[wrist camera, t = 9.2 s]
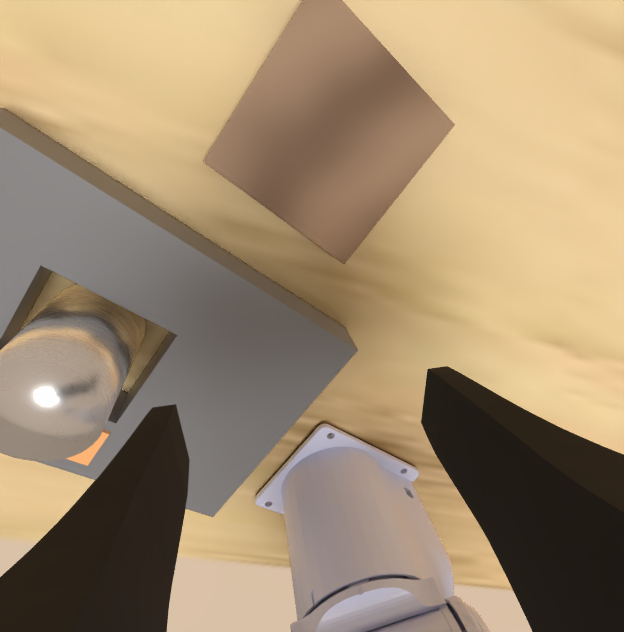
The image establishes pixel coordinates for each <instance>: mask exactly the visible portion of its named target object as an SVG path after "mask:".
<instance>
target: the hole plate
mask: <svg viewBox="0 0 624 632" xmlns="http://www.w3.org/2000/svg"><path fill="white" fill-rule="evenodd" d="M52 271H53V272H55V273H57V274H59V275H61V276H63V277H65V278H67V279H69V280H71V281H73V282H75V283H76V284H78V285H80V286H82V287H84V288H86V289H88V290H90V291H92V292H94V293H96V294H98V295H100V296H102V297H104V298H106V299H108V300H110V301H112V302H114V303H116V304H118V305H119V306H121V307H123V308H125V309H127V310H129V311H131V312H133V313H135V314H137V315H139V316H141V317H143V318H145V319H147V320H149V321H151V322H153V323H155V324H157V325H159V326H161V327H163V328H164V329H166V330H168V331H170V333H169V335H168V336H167V337H166V339H165V340H164V342H163V343H162V345H161V346H160V348H159V349H158V351H157V352H156V353H155V355H154V356H153V358H152V359H151V361H150V362H149V364H148V365H147V367H146V368H145V369H144V371H143V372H142V374H141V375H140V377H139V378H138V380H137V381H136V383H135V384H134V385H133V387H132V388H131V390H130V391H129V393H127V392H124V391H122V390H121V391H120V393H119V395H118V397H117V400H116V402H115V404H114V407H113V409H112V411H111V414H110V416H109V418H108V421H107V423H106V425H105V427H104V430H103V432H102V434H101V436H100V437H99V438H98V440H97V441H96V442H95V443H94V444H93V445H92V446H91V447H89V448H88V449H87V450H85V451H83V452H81V453H79V454H77V455H75V456H72V457H69V458H65V459H60V460H53V461H37V462H40V463H43V464H46V465H49V466H52V467H56V468H59V469H62V470H65V471H68V472H71V473H75V474H78V475H81V476H84V477H87V478H90V479H94V480H96V479H97V478H98V477H99V475H100V474H101V473H102V472H103V471H104V469H105V468H106V467H107V466H108V464H109V463H110V462H111V461H112V459H113V458H114V457H115V455H116V454H117V453H118V452H119V450H120V449H121V448H122V447H123V445H124V444H125V443H126V441H127V440H128V439H129V437H130V436H131V435H132V433H133V432H134V431H135V429H136V428H137V427H138V425H139V424H140V423H141V421H142V420H143V419H144V417H145V416H146V415H147V413H148V412H149V411H150V410H151V408H152V407H159V406H166V405H174V404H176V407H177V411H178V415H179V419H180V423H181V427H182V431H183V435H184V439H185V443H186V447H187V451H188V455H189V459H190V461H189V481H188V496H187V502H186V508H185V509H189V510H192V511H195V512H198V513H201V514H204V515H208V516H211V517H213V516H214V515H215V514H216V513H217V512H218V511H219V510H220V508H221V507H222V506H223V505H224V504H225V503H226V501H227V500H228V499H229V498H230V497H231V496H232V495H233V493H234V492H235V491H236V490H237V489H238V488H239V486H240V485H241V484H242V483H243V482H244V481H245V480H246V478H247V477H248V476H249V475H250V474H251V473H252V472H253V470H254V469H255V468H256V467H257V466H258V465H259V463H260V462H261V461H262V460H263V459H264V458H265V457H266V455H267V454H268V453H269V452H270V451H271V450H272V448H273V447H274V446H275V445H276V444H277V443H278V442H279V440H280V439H281V438H282V437H283V436H284V435H285V434H286V432H287V431H288V430H289V429H290V428H291V427H292V425H293V424H294V423H295V422H296V421H297V420H298V419H299V417H300V416H301V415H302V414H303V413H304V412H305V410H306V409H307V408H308V407H309V406H310V405H311V404H312V402H313V401H314V400H315V399H316V398H317V397H318V396H319V394H320V393H321V392H322V391H323V390H324V389H325V387H326V386H327V385H328V384H329V383H330V382H331V381H332V379H333V378H334V377H335V376H336V375H337V374H338V372H339V371H340V370H341V369H342V368H343V367H344V366H345V364H346V363H347V362H348V361H349V360H350V359H351V358H352V356H353V355H354V354H355V353H356V352H357V351H358V349H357V348H356V346H355V344H354V342H353V340H352V339H351V337H350V335H349V333H348V331H347V330H346V328H345V327H343V326H342V325H340V324H339V323H337V322H336V321H334V320H333V319H331V318H329V317H328V316H326V315H325V314H323V313H322V312H320V311H319V310H317V309H315V308H314V307H312V306H311V305H309V304H308V303H306V302H305V301H303V300H301V299H300V298H298V297H297V296H295V295H294V294H292V293H291V292H289V291H287V290H286V289H284V288H283V287H281V286H280V285H278V284H277V283H275V282H273V281H272V280H270V279H269V278H267V277H266V276H264V275H263V274H261V273H260V272H258V271H256V270H255V269H253V268H252V267H250V266H249V265H247V264H246V263H244V262H242V261H241V260H239V259H238V258H236V257H235V256H233V255H232V254H230V253H228V252H227V251H225V250H224V249H222V248H221V247H219V246H218V245H216V244H214V243H213V242H211V241H210V240H208V239H207V238H205V237H204V236H202V235H200V234H199V233H197V232H196V231H194V230H193V229H191V228H190V227H188V226H186V225H185V224H183V223H182V222H180V221H179V220H177V219H176V218H174V217H172V216H171V215H169V214H168V213H166V212H165V211H163V210H162V209H160V208H158V207H157V206H155V205H154V204H152V203H151V202H149V201H148V200H146V199H144V198H143V197H141V196H140V195H138V194H137V193H135V192H134V191H132V190H130V189H129V188H127V187H126V186H124V185H123V184H121V183H120V182H118V181H116V180H115V179H113V178H112V177H110V176H109V175H107V174H106V173H104V172H102V171H101V170H99V169H98V168H96V167H95V166H93V165H92V164H90V163H88V162H87V161H85V160H84V159H82V158H81V157H79V156H78V155H76V154H75V153H73V152H71V151H70V150H68V149H67V148H65V147H64V146H62V145H61V144H59V143H57V142H56V141H54V140H53V139H51V138H50V137H48V136H47V135H45V134H43V133H42V132H40V131H39V130H37V129H36V128H34V127H33V126H31V125H29V124H28V123H26V122H25V121H23V120H22V119H20V118H19V117H17V116H15V115H14V114H12V113H11V112H9V111H8V110H6V109H5V108H0V350H1V349H2V348H3V347H4V346H5V345H6V344H7V343H8V342H9V341H11V340H12V339H13V338H14V337H15V336H16V335H17V334H18V332H19V330H20V328H21V326H22V324H23V323H24V321H25V319H26V317H27V315H28V314H29V312H30V310H31V308H32V306H33V305H34V303H35V301H36V299H37V297H38V296H39V294H40V292H41V290H42V288H43V287H44V285H45V283H46V281H47V279H48V277H49V276H50V274H51V272H52Z"/></svg>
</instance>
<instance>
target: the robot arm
mask: <svg viewBox="0 0 624 632" xmlns="http://www.w3.org/2000/svg"><path fill="white" fill-rule="evenodd" d="M421 423H422V425H423V428H424V430H425V432H426V435H427V437H428V439H429V441H430V443H431V445H432V448H433V450H434V452H435V454H436V455H437V457H438V459H439V460H440V462H441V464H442V465H443V467H444V468H445V470H446V472H447V473H448V475H449V477H450V478H451V480H452V481H453V483H454V485H455V486H456V488H457V489H458V491H459V493H460V494H461V496H462V497H463V499H464V501H465V502H466V504H467V505H468V507H469V508H470V510H471V512H472V513H473V515H474V516H475V518H476V520H477V521H478V523H479V525H480V526H481V528H482V530H483V532H484V533H485V535H486V537H487V539H488V540H489V542H490V544H491V546H492V548H493V550H494V552H495V554H496V556H497V558H498V560H499V562H500V564H501V566H502V568H503V570H504V572H505V574H506V576H507V578H508V580H509V582H510V584H511V586H512V589H513V591H514V593H515V595H516V597H517V599H518V601H519V603H520V605H521V608H522V610H523V612H524V614H525V616H526V618H527V620H528V622H529V625H530V627H531V629H532V631H533V632H624V455H623V454H621V453H618V452H615V451H613V450H610V449H608V448H605V447H603V446H601V445H598V444H596V443H594V442H591V441H589V440H587V439H584V438H582V437H580V436H578V435H575V434H573V433H571V432H569V431H566V430H564V429H562V428H560V427H558V426H556V425H554V424H552V423H550V422H548V421H546V420H544V419H542V418H540V417H538V416H536V415H534V414H532V413H530V412H528V411H526V410H525V409H523V408H521V407H519V406H517V405H515V404H513V403H512V402H510V401H508V400H506V399H505V398H503V397H501V396H499V395H497V394H496V393H494V392H492V391H490V390H489V389H487V388H485V387H483V386H482V385H480V384H478V383H477V382H475V381H473V380H471V379H470V378H468V377H466V376H464V375H463V374H461V373H459V372H457V371H455V370H453V369H451V368H449V367H447V366H446V367H439V368H432V369H428V371H427V379H426V387H425V396H424V404H423V412H422V420H421ZM329 433H332V434H331V435H328V434H329ZM189 461H190V459H189V455H188V451H187V447H186V443H185V439H184V435H183V431H182V427H181V423H180V419H179V415H178V411H177V407H176V404H174V405H166V406H159V407H152V408H151V410H150V411H149V412H148V413H147V415H146V416H145V417H144V419H143V420H142V421H141V423H140V424H139V425H138V427H137V428H136V429H135V431H134V432H133V433H132V435H131V436H130V437H129V439H128V440H127V441H126V443H125V444H124V445H123V447H122V448H121V449H120V450H119V452H118V453H117V454H116V455H115V457H114V458H113V459H112V461H111V462H110V463H109V464H108V466H107V467H106V468H105V469H104V471H103V472H102V473H101V474H100V475H99V477H98V478H97V479H96V480H95V481H94V482H93V484H92V485H91V486H90V487H89V488H88V489H87V491H86V492H85V493H84V494H83V495H82V496H81V497H80V499H79V500H78V501H77V502H76V503H75V504H74V505H73V507H72V508H71V509H70V510H69V511H68V512H67V513H66V514H65V515H64V516H63V517H62V518H61V520H60V521H59V522H58V523H57V524H56V525H55V526H54V527H53V528H52V529H51V530H50V531H49V532H48V533H47V534H46V535H45V536H44V537H43V538H42V539H41V540H40V541H39V542H38V543H37V544H36V545H35V546H34V547H33V548H32V549H31V550H30V551H29V552H28V553H27V554H25V555H24V556H23V557H22V558H21V559H20V560H19V561H18V562H17V563H16V564H14V565H13V566H12V567H11V568H10V569H9V570H8V571H7V572H6V573H4V574H3V575H2V576H1V577H0V632H166V631H167V619H168V608H169V600H170V594H171V586H172V580H173V575H174V570H175V564H176V559H177V553H178V547H179V542H180V536H181V531H182V525H183V519H184V514H185V508H186V502H187V496H188V481H189ZM418 476H419V471H418V469H417V468H416V467H414V466H412V465H410V464H408V463H406V462H404V461H402V460H400V459H398V458H396V457H394V456H392V455H389V454H387V453H385V452H383V451H381V450H379V449H377V448H375V447H373V446H371V445H369V444H367V443H365V442H363V441H361V440H359V439H357V438H355V437H353V436H351V435H349V434H347V433H345V432H343V431H341V430H339V429H337V428H335V427H333V426H331V425H329V424H321V425H319V426H318V427H317V428H316V429H315V430H314V432H313V433H312V434H311V435H310V436H309V437H308V438H307V439H306V440H305V442H304V443H303V444H302V445H301V446H300V447H299V448H298V449H297V451H296V452H295V453H294V454H293V455H292V456H291V457H290V458H289V460H288V461H287V462H286V463H285V464H284V465H283V466H282V467H281V468H280V470H279V471H278V472H277V473H276V474H275V475H274V476H273V477H272V479H271V480H270V481H269V482H268V483H267V484H266V485H265V486H264V487H263V489H262V490H261V491H260V492H259V493H258V494H257V495H256V497H255V503H256V505H258V506H260V507H263V508H266V509H269V510H272V511H275V512H277V513H280V514H283V515H284V518H285V526H286V534H287V542H288V549H289V557H290V565H291V573H292V581H293V588H294V596H295V604H296V612H297V620H298V621H296V622H294V623H292V624H291V632H490V631H489V629H488V627H487V626H486V624H485V623H484V621H483V620H482V618H481V617H480V615H479V614H478V613H477V611H476V610H475V609H474V608H472V607H471V606H469V605H468V604H466V603H465V602H463V601H462V600H461V599H460V598H459V597H457V596H454V579H453V572H452V566H451V563H450V560H449V557H448V554H447V552H446V550H445V548H444V546H443V544H442V542H441V540H440V538H439V536H438V534H437V532H436V530H435V528H434V526H433V524H432V522H431V520H430V518H429V516H428V514H427V512H426V510H425V508H424V506H423V504H422V502H421V500H420V498H419V496H418V494H417V492H416V490H415V488H414V486H413V484H412V482H413V481H414V480H415V479H416V478H417V477H418ZM268 501H269V502H268Z"/></svg>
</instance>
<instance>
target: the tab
mask: <svg viewBox="0 0 624 632" xmlns="http://www.w3.org/2000/svg"><path fill="white" fill-rule="evenodd" d="M454 125H455V124H454V123H453V122H452V121H451V120H450V119H449V118H448V117H447V115H446V114H445V113H444V112H443V111H442V110H441V109H440V108H439V107H438V106H437V104H436V103H435V102H434V101H433V100H432V99H431V98H430V97H429V96H428V95H427V93H426V92H425V91H424V90H423V89H422V88H421V87H420V86H419V85H418V84H417V82H416V81H415V80H414V79H413V78H412V77H411V76H410V75H409V74H408V73H407V71H406V70H405V69H404V68H403V67H402V66H401V65H400V64H399V63H398V62H397V60H396V59H395V58H394V57H393V56H392V55H391V54H390V53H389V52H388V51H387V49H386V48H385V47H384V46H383V45H382V44H381V43H380V42H379V41H378V40H377V38H376V37H375V36H374V35H373V34H372V33H371V32H370V31H369V30H368V28H367V27H366V26H365V25H364V24H363V23H362V22H361V21H360V20H359V19H358V17H357V16H356V15H355V14H354V13H353V12H352V11H351V10H350V9H349V8H348V6H347V5H346V4H345V3H344V2H343V1H342V0H303V1H302V3H301V5H300V6H299V8H298V9H297V11H296V13H295V14H294V16H293V18H292V19H291V21H290V22H289V24H288V26H287V27H286V29H285V30H284V32H283V34H282V35H281V37H280V38H279V40H278V42H277V43H276V45H275V46H274V48H273V50H272V51H271V53H270V54H269V56H268V58H267V59H266V61H265V62H264V64H263V66H262V67H261V69H260V71H259V72H258V74H257V75H256V77H255V79H254V80H253V82H252V83H251V85H250V87H249V88H248V90H247V91H246V93H245V95H244V96H243V98H242V99H241V101H240V103H239V104H238V106H237V107H236V109H235V111H234V112H233V114H232V115H231V117H230V119H229V120H228V122H227V123H226V125H225V127H224V128H223V130H222V132H221V133H220V135H219V136H218V138H217V140H216V141H215V143H214V144H213V146H212V148H211V149H210V151H209V152H208V154H207V156H206V157H205V159H204V160H203V162H205V163H206V164H207V165H209V166H210V167H212V168H213V169H214V170H216V171H217V172H218V173H220V174H221V175H222V176H224V177H225V178H227V179H228V180H229V181H231V182H232V183H233V184H235V185H236V186H237V187H239V188H240V189H242V190H243V191H244V192H246V193H247V194H248V195H250V196H251V197H253V198H254V199H255V200H257V201H258V202H259V203H261V204H262V205H263V206H265V207H266V208H268V209H269V210H270V211H272V212H273V213H274V214H276V215H277V216H279V217H280V218H281V219H283V220H284V221H285V222H287V223H288V224H289V225H291V226H292V227H294V228H295V229H296V230H298V231H299V232H300V233H302V234H303V235H304V236H306V237H307V238H309V239H310V240H311V241H313V242H314V243H315V244H317V245H318V246H320V247H321V248H322V249H324V250H325V251H326V252H328V253H329V254H330V255H332V256H333V257H335V258H336V259H337V260H339V261H340V262H341V263H343V264H345V262H346V261H347V260H348V259H349V257H350V256H351V255H352V254H353V252H354V251H355V250H356V249H357V247H358V246H359V245H360V244H361V242H362V241H363V240H364V239H365V237H366V236H367V235H368V234H369V232H370V231H371V230H372V228H373V227H374V226H375V225H376V223H377V222H378V221H379V220H380V218H381V217H382V216H383V215H384V213H385V212H386V211H387V210H388V208H389V207H390V206H391V205H392V203H393V202H394V201H395V200H396V198H397V197H398V196H399V195H400V193H401V192H402V191H403V189H404V188H405V187H406V186H407V184H408V183H409V182H410V181H411V179H412V178H413V177H414V176H415V174H416V173H417V172H418V171H419V169H420V168H421V167H422V166H423V164H424V163H425V162H426V161H427V159H428V158H429V157H430V155H431V154H432V153H433V152H434V150H435V149H436V148H437V147H438V145H439V144H440V143H441V142H442V140H443V139H444V138H445V137H446V135H447V134H448V133H449V132H450V130H451V129H452V128H453V127H454Z"/></svg>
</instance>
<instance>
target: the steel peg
mask: <svg viewBox="0 0 624 632" xmlns="http://www.w3.org/2000/svg"><path fill="white" fill-rule="evenodd" d="M145 330H146V322H145V318H143V317H141V316H139V315H137V314H135V313H133V312H131V311H129V310H127V309H125V308H123V307H121V306H119V305H118V304H116V303H114V302H112V301H110V300H108V299H106V298H104V297H102V296H100V295H98V294H96V293H94V292H92V291H90V290H88V289H86V288H84V287H82V286H80V285H78V284H76V285H73V286H71V287H68V288H67V289H65V290H64V291H62V292H61V293H60V294H59V295H58V296H57V297H56V298H55V299H54V300H53V301H52V302H50V303H49V304H48V305H47V306H46V307H45V308H44V309H43V310H42V311H41V312H40V313H39V314H38V315H37V316H36V317H35V318H34V319H33V320H32V321H30V322H29V323H28V324H27V325H26V326H25V327H24V328H23V329H22V330H21V331H20V332H19V333H18V334H17V335H16V336H15V337H14V338H13V339H12V340H11V341H9V342H8V343H7V344H6V345H5V346H4V347H3V348H2V349H1V350H0V452H1V453H3V454H5V455H8V456H11V457H15V458H19V459H24V460H31V461H53V460H60V459H65V458H69V457H72V456H75V455H77V454H79V453H81V452H83V451H85V450H87V449H88V448H89V447H91V446H92V445H93V444H94V443H95V442H96V441H97V440H98V438H99V437H100V436H101V434H102V432H103V430H104V427H105V425H106V423H107V421H108V418H109V416H110V414H111V411H112V409H113V407H114V404H115V402H116V400H117V397H118V395H119V393H120V391H121V388H122V386H123V384H124V381H125V379H126V377H127V374H128V372H129V370H130V368H131V365H132V363H133V361H134V358H135V356H136V354H137V351H138V349H139V347H140V344H141V342H142V340H143V338H144V334H145Z"/></svg>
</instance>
